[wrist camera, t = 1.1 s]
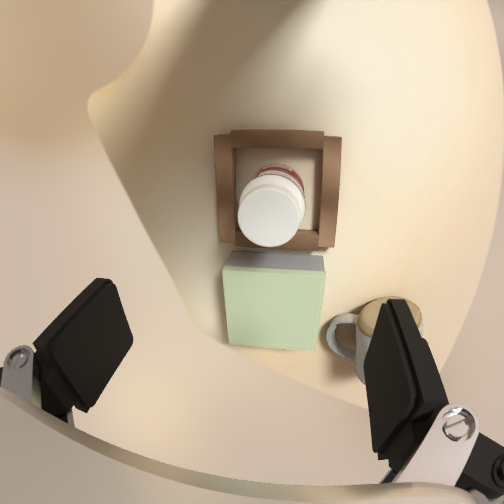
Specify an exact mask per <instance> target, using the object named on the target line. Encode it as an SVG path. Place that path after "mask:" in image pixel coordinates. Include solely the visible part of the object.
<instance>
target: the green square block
mask: <svg viewBox="0 0 504 504" xmlns="http://www.w3.org/2000/svg"><path fill="white" fill-rule="evenodd" d="M222 275H223V287H224V298H225V309H226V320H227V330H228V340H229V344H233V345H243V346H253V347H264V348H276V349H291V350H309V351H315V348H316V342H317V336H318V330H319V323H320V317H321V310H322V303H323V296H324V288H325V280H326V272H325V270H324V262H323V256H318V255H299V254H280V253H260V252H241V251H232V253H231V255H230V257H229V259H228V261H227V263H226V265H225V266H224V267H223V269H222Z"/></svg>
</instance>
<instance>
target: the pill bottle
mask: <svg viewBox="0 0 504 504" xmlns="http://www.w3.org/2000/svg"><path fill="white" fill-rule="evenodd" d="M304 214H305V196H304V187H303V182H302V180H301V178H300V176H299V175H298V173H297V172H296V171H295V170H294V169H292V168H291V167H289V166H286V165H283V164H271V165H268V166H265V167H263V168H262V169H260V170H259V171H258V172H257V173H256V174H255V176H254V177H253V178H252V179H251V181H250V182H249V183H248V184H247V185H246V187H245V188H244V190H243V191H242V194H241V197H240V201H239V209H238V224H239V226H240V229H241V231H242V232H243V234H244V235H245V236H246V237H247V238H248V239H249V240H250V241H252V242H253V243H255V244H257V245H260V246H264V247H276V246H280V245H282V244H284V243H286V242H288V241H289V240H290V239H291V238H292V237H293V236H294V235H295V233H296V232H297V230H298V227H299V225H300V224H301V222H302V220H303V218H304Z"/></svg>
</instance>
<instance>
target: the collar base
mask: <svg viewBox="0 0 504 504" xmlns="http://www.w3.org/2000/svg"><path fill="white" fill-rule="evenodd" d="M341 141H342V137H336V136H324V132H323V131H305V130H233V131H231V134H230V135H215V136H214V148H215V169H216V187H217V204H218V220H219V234H220V242H233V243H235V245H236V246H242V247H262V248H282V249H302V250H318V247H334V244H335V234H336V224H337V212H338V200H339V185H340V167H341ZM245 147H274V148H308V149H322V176H321V197H320V215H319V229H318V230H299V229H298V230H297V232H296V233H295V235H294V236H293V237H292V238H291V239H290V240H289V241H288V242H286V243H284V244H282V245H280V246H276V247H264V246H260V245H257V244H255V243H253V242H252V241H250V240H249V239H248V238H247V237H246V236H245V235H244V234H243V232H242V231H241V229H240V227H237V203H236V177H235V148H245Z"/></svg>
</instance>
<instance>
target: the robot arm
mask: <svg viewBox="0 0 504 504" xmlns="http://www.w3.org/2000/svg"><path fill="white" fill-rule="evenodd" d="M132 344H133V335H132V333H131V330H130V327H129V324H128V322H127V319H126V316H125V313H124V310H123V307H122V304H121V301H120V298H119V294H118V291H117V288H116V285H115V284H113V282H112V281H111V280H110V279H104V278H96V279H95V280H94V281H93V282H92V283H91V284H90V285H88V286H87V288H85V289H84V290H83V291H82V292H81V293H80V294H79V295H78V296H77V297H76V298H75V299H74V300H73V301H72V302H71V303H70V304H69V305H68V306H67V307H66V308H65V309H64V310H63V311H62V312H61V313H60V314H59V315H58V316H57V318H56V319H55V320H54V321H53V322H52V323H51V324H50V325H49V326H48V327H47V328H46V329H45V330H44V331H43V333H42V334H41V335H40V336H39V337H38V338H37V339H36V340H35V341H34V342H33V345H34V347H35V348H36V350H37V351H36V352H35V353H34V352H33V350H32V348H31V347H29V346H26V345H23V346H19V347H16V348H15V349H13V350H11V352H10V353H8V355H7V356H6V358H5V361H4V366H3V367H1V368H0V504H504V447H503V446H501V445H499V444H498V443H496V442H495V441H493V440H491V439H489V438H488V437H486V436H484V435H483V434H481V433H480V432H479V429H480V424H479V419H478V417H477V414H476V413H475V412H474V410H473V409H471V408H470V407H469V406H467V405H465V404H461V403H452V404H449V402H448V399H447V396H446V393H445V389H444V386H443V384H442V381H441V378H440V375H439V372H438V369H437V366H436V364H435V361H434V358H433V356H432V353H431V351H430V348H429V346H428V343H427V341H426V340H425V339H424V338H422V337H421V334H420V332H419V329H418V327H417V325H416V322H415V320H414V318H413V315H412V313H411V311H410V308H409V306H408V304H407V302H406V300H405V299H388V300H387V302H386V303H382V304H381V307H380V310H379V314H378V318H377V321H376V325H375V328H374V331H373V335H372V338H371V341H370V344H369V347H368V350H367V353H366V356H365V359H364V365H363V369H364V376H365V384H366V391H367V399H368V407H369V416H370V426H371V437H372V449H373V452H374V453H376V452H378V460H384V459H388V460H389V467H390V468H391V469H390V470H389V471H388V472H387V474H386V475H385V476H384V478H383V479H382V480H381V481H380V482H379V484H367V485H366V484H365V485H348V486H304V485H284V484H271V483H261V482H252V481H245V480H238V479H232V478H226V477H221V476H216V475H211V474H206V473H201V472H197V471H193V470H188V469H184V468H181V467H177V466H173V465H170V464H166V463H163V462H159V461H157V460H153V459H150V458H147V457H144V456H141V455H138V454H136V453H133V452H130V451H128V450H125V449H122V448H120V447H117V446H115V445H112V444H110V443H107V442H105V441H103V440H101V439H98V438H96V437H94V436H92V435H89V434H87V433H85V432H83V431H81V430H79V429H77V428H75V426H74V421H73V414H72V406H73V405H74V406H75V407H76V408H77V409H79V410H81V411H83V412H85V413H87V412H88V410H89V408H90V407H93V406H94V405H95V403H96V401H97V400H98V398H99V396H100V394H101V393H102V392H103V390H104V388H105V387H106V385H107V384H108V382H109V380H110V379H111V377H112V376H113V374H114V372H115V371H116V369H117V368H118V366H119V365H120V363H121V361H122V360H123V358H124V357H125V355H126V354H127V352H128V350H129V349H130V347H131V346H132Z"/></svg>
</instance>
